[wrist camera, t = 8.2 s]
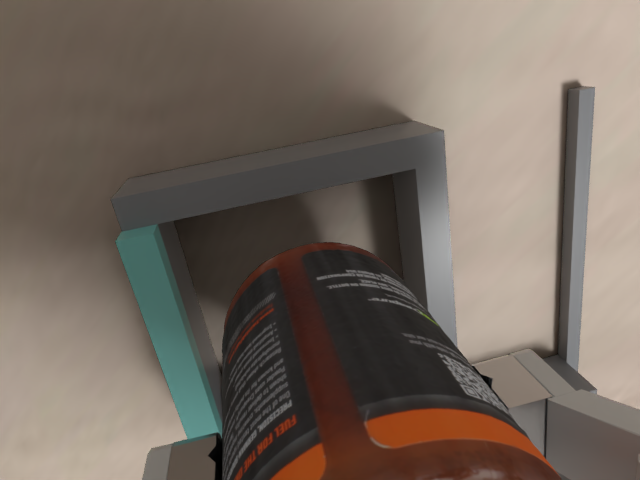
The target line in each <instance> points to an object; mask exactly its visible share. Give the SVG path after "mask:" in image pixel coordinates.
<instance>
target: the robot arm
mask: <svg viewBox="0 0 640 480" xmlns="http://www.w3.org/2000/svg"><path fill="white" fill-rule="evenodd" d="M471 366H472V368H473V369H474V370H475V371H476V372H477V373H478V374H479V375H480V377H481V378H482V379H483V381H484V382H485V383H486V384H487V385H488V387H489V388H490V389H491V391H492V392H493V393H494V394H495V395H496V397H497V398H498V399H499V401H500V402H501V403H502V404H503V405H504V406H505V408H506V409H507V410H508V411H509V413H510V414H511V415H512V416H513V418H514V419H515V420H516V421H517V423H518V424H519V425H520V427H521V428H522V429H523V430H524V431H525V432H526V434H527V435H528V437H529V439H530V440H531V442H532V444H533V445H534V446H535V447H536V448H537V449H538V450H539V451H540V453H541V454H542V455H543V456H544V457H545V459H546V460H547V461H548V462H549V464H550V465H551V466H552V467H553V469H554V470H555V471H557V472H559V473H560V474H562V475H564V476H565V477H567V478H568V479H570V480H640V410H639V409H636V408H633V407H631V406H628V405H625V404H622V403H619V402H616V401H614V400H611V399H608V398H605V397H602V396H599V395H597V394H594V393H591V392H588V391H585V390H582V389H581V390H578V391H576V390H575V389H573V388H572V387H571V386H570V385H569V384H568V383H567V382H566V381H565V380H564V379H563V378H562V377H561V376H560V375H558V374H557V373H556V372H555V371H554V370H553V369H552V368H551V367H550V366H549V365H548V364H547V363H546V362H545V361H543V360H542V359H541V358H540V357H539V356H538V355H537V354H536V353H535V352H534V351H533V350H530V349H525V350H521V351H518V352H514V353H511V354H508V355H505V356H501V357H497V358H494V359H490V360H486V361H483V362H479V363H475V364H472V365H471ZM142 480H222V438H221V435H220V433H218V432H216V433H212V434H207V435H203V436H199V437H195V438H191V439H187V440H182V441H178V442H174V443H173V444H168V445H164V446H160V447H155V448H151V450H150V451H149V453H148V455H147V459H146V464H145V469H144V474H143V478H142Z"/></svg>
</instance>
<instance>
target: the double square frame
mask: <svg viewBox="0 0 640 480" xmlns="http://www.w3.org/2000/svg"><path fill="white" fill-rule="evenodd" d="M594 96H595V87H586V86H582V87H577V88H573V89H568V113H567V139H566V164H565V190H564V215H563V241H562V266H561V292H560V317H559V343H558V355H555V356H551V357H548V358H544V359H542V360H543V361H545V362H546V363H547V364H548V365H549V366H550V367H551V368H552V369H553V370H554V371H555V372H556V373H557V374H558V375H560V376H561V377H562V378H563V379H564V380H565V381H566V382H567V383H568V384H569V385H570V386H571V387H572V388H573V389H575V390H576V391H578V390H581V389H582V390H585V391H588V392H591V393H594V394H597V389H596V388H595V387H594V386H593V385H591V384H590V383H589V382H588V381H587V380H586V379H585V378H584V377H582V376H581V375H580V374H579V373H578V361H579V344H580V328H581V311H582V295H583V278H584V261H585V245H586V228H587V212H588V195H589V179H590V162H591V145H592V129H593V112H594ZM389 174H392V177H393V186H394V195H395V204H396V213H397V223H398V232H399V241H400V250H401V259H402V268H403V278H404V282H405V284H406V285H407V286H408V287H409V289H410V290H411V291H412V292H413V294H414V295H415V296H416V297H417V298H418V300H419V301H420V303H421V304H422V305H423V306H424V307H425V309H426V310H427V311H428V312H429V313H430V314H431V316H432V317H433V318H434V320H435V321H436V322H437V324H438V325H439V326H440V327H441V328H442V330H443V331H444V333H445V334H446V335H447V336H448V337H449V338H450V339H451V341H452V342H453V343H454V345H455V346H456V347H457V333H456V317H455V301H454V285H453V269H452V253H451V237H450V221H449V205H448V189H447V173H446V157H445V141H444V130H441V129H438V128H435V127H432V126H429V125H426V124H423V123H419V122H416V121H410V122H405V123H400V124H395V125H390V126H385V127H381V128H376V129H371V130H366V131H361V132H356V133H351V134H346V135H341V136H336V137H331V138H326V139H321V140H317V141H312V142H307V143H302V144H297V145H292V146H287V147H282V148H277V149H272V150H267V151H262V152H257V153H253V154H248V155H243V156H238V157H233V158H228V159H223V160H218V161H213V162H208V163H203V164H198V165H193V166H188V167H184V168H179V169H174V170H169V171H164V172H159V173H154V174H149V175H144V176H139V177H134V178H129V179H128V180H127V181H126V182H125V183H124V184H123V185H122V187H121V188H120V189H119V190H118V191H117V192H116V193H115V195H114V196H113V197H112V198H111V202H112V205H113V208H114V210H115V213H116V216H117V219H118V222H119V224H120V227H121V230H122V232H121V233H120V235H119V236H118V238H117V240H116V241H115V243H116V245H117V248H118V251H119V253H120V256H121V259H122V262H123V264H124V267H125V270H126V272H127V275H128V278H129V281H130V283H131V286H132V289H133V292H134V294H135V297H136V300H137V302H138V305H139V308H140V311H141V313H142V316H143V319H144V321H145V324H146V327H147V330H148V332H149V335H150V338H151V340H152V343H153V346H154V349H155V351H156V354H157V357H158V360H159V362H160V365H161V368H162V370H163V373H164V376H165V379H166V381H167V384H168V387H169V389H170V392H171V395H172V398H173V400H174V403H175V406H176V408H177V411H178V414H179V417H180V419H181V422H182V425H183V428H184V430H185V433H186V436H187V438H188V439H191V438H195V437H199V436H203V435H207V434H212V433H216V432H218V433H220V435H221V438H222V421H223V417H222V413H223V405H222V389H223V387H222V384H223V383H222V376H221V373H220V370H219V367H218V363H217V360H216V357H215V354H214V350H213V347H212V344H211V341H210V338H209V334H208V331H207V328H206V325H205V321H204V318H203V315H202V312H201V308H200V305H199V302H198V299H197V295H196V292H195V289H194V286H193V282H192V279H191V276H190V273H189V270H188V266H187V263H186V260H185V257H184V253H183V250H182V247H181V244H180V240H179V237H178V234H177V231H176V227H175V224H174V220H179V219H184V218H188V217H193V216H198V215H202V214H207V213H212V212H216V211H221V210H226V209H230V208H235V207H239V206H244V205H249V204H253V203H258V202H263V201H267V200H272V199H277V198H281V197H286V196H291V195H295V194H300V193H305V192H309V191H314V190H319V189H323V188H328V187H333V186H337V185H342V184H347V183H351V182H356V181H361V180H365V179H370V178H375V177H379V176H384V175H389ZM556 472H557V471H556ZM557 474H558V475H559V476H560V478H561V479H562V480H570V479H568V478H567V477H565V476H564V475H562V474H560V473H559V472H557Z"/></svg>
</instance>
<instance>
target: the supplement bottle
mask: <svg viewBox="0 0 640 480" xmlns="http://www.w3.org/2000/svg"><path fill="white" fill-rule="evenodd" d="M222 354H223V355H222V357H223V375H222V383H223V384H222V387H223V389H222V405H223V413H222V417H223V421H222V480H562V479H561V478H560V476H559V475H558V474H557V472H556V471H555V470H554V469H553V467H552V466H551V465H550V464H549V462H548V461H547V460H546V459H545V457H544V456H543V455H542V454H541V453H540V451H539V450H538V449H537V448H536V447H535V446H534V445H533V444H532V442H531V440H530V439H529V437H528V435H527V434H526V432H525V431H524V430H523V429H522V428H521V427H520V425H519V424H518V423H517V421H516V420H515V419H514V418H513V416H512V415H511V414H510V413H509V411H508V410H507V409H506V408H505V406H504V405H503V404H502V403H501V402H500V401H499V399H498V398H497V397H496V395H495V394H494V393H493V392H492V391H491V389H490V388H489V387H488V385H487V384H486V383H485V382H484V381H483V379H482V378H481V377H480V375H479V374H478V373H477V372H476V371H475V370H474V369H473V368H472V366H471V365H470V364H469V362H468V361H467V359H466V358H465V357H464V356H463V354H462V353H461V352H460V351H459V350H458V349H457V347H456V346H455V345H454V343H453V342H452V341H451V339H450V338H449V337H448V336H447V335H446V334H445V333H444V331H443V330H442V328H441V327H440V326H439V325H438V324H437V322H436V321H435V320H434V318H433V317H432V316H431V314H430V313H429V312H428V311H427V310H426V309H425V307H424V306H423V305H422V304H421V303H420V301H419V300H418V298H417V297H416V296H415V295H414V294H413V292H412V291H411V290H410V289H409V287H408V286H407V285H406V284H405V282H404V281H403V280H402V279H401V278H400V277H399V276H398V275H397V274H396V273H395V272H394V271H393V270H392V269H391V267H390V266H388V265H387V264H386V263H385V262H384V261H382V260H381V259H380V258H378V257H376V256H375V255H373V254H371V253H369V252H368V251H366V250H363V249H360V248H357V247H355V246H352V245H347V244H341V243H334V242H324V243H313V244H307V245H303V246H299V247H296V248H293V249H290V250H287V251H285V252H282V253H280V254H278V255H276V256H274V257H273V258H271V259H269V260H267V261H265V262H264V263H262V264H261V265H260V266H259V267H258V268H257V269H256V270H255V271H253V272H252V274H250V275H249V277H248V278H247V279H246V280H245V281H244V282H243V284H242V285H241V287H240V288H239V289H238V291H237V293H236V295H235V296H234V298H233V300H232V302H231V305H230V307H229V310H228V312H227V316H226V319H225V325H224V336H223V343H222Z"/></svg>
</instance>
